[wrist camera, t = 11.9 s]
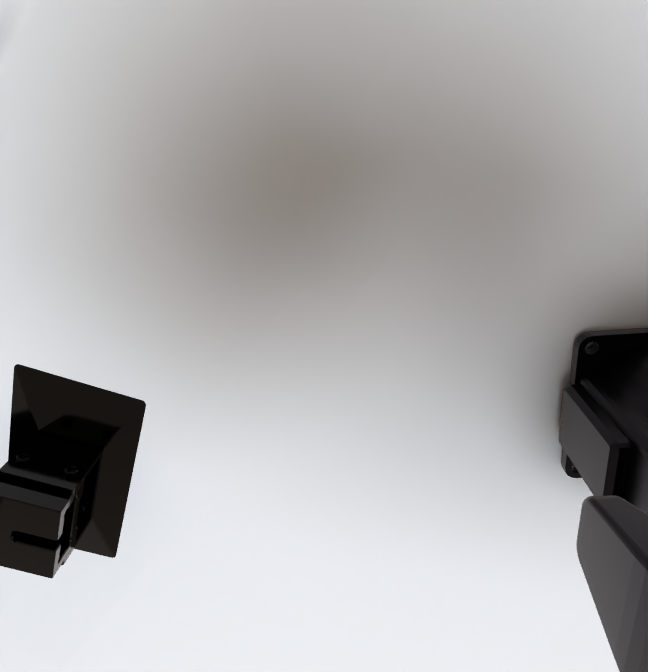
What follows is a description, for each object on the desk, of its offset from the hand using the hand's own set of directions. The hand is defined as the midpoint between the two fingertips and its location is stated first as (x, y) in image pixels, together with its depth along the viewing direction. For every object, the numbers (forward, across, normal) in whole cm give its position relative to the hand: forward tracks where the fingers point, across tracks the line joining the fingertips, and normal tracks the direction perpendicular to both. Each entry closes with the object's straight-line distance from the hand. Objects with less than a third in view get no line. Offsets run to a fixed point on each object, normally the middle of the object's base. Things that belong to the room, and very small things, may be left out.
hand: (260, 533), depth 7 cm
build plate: (+14, +12, +9) cm, 20 cm away
